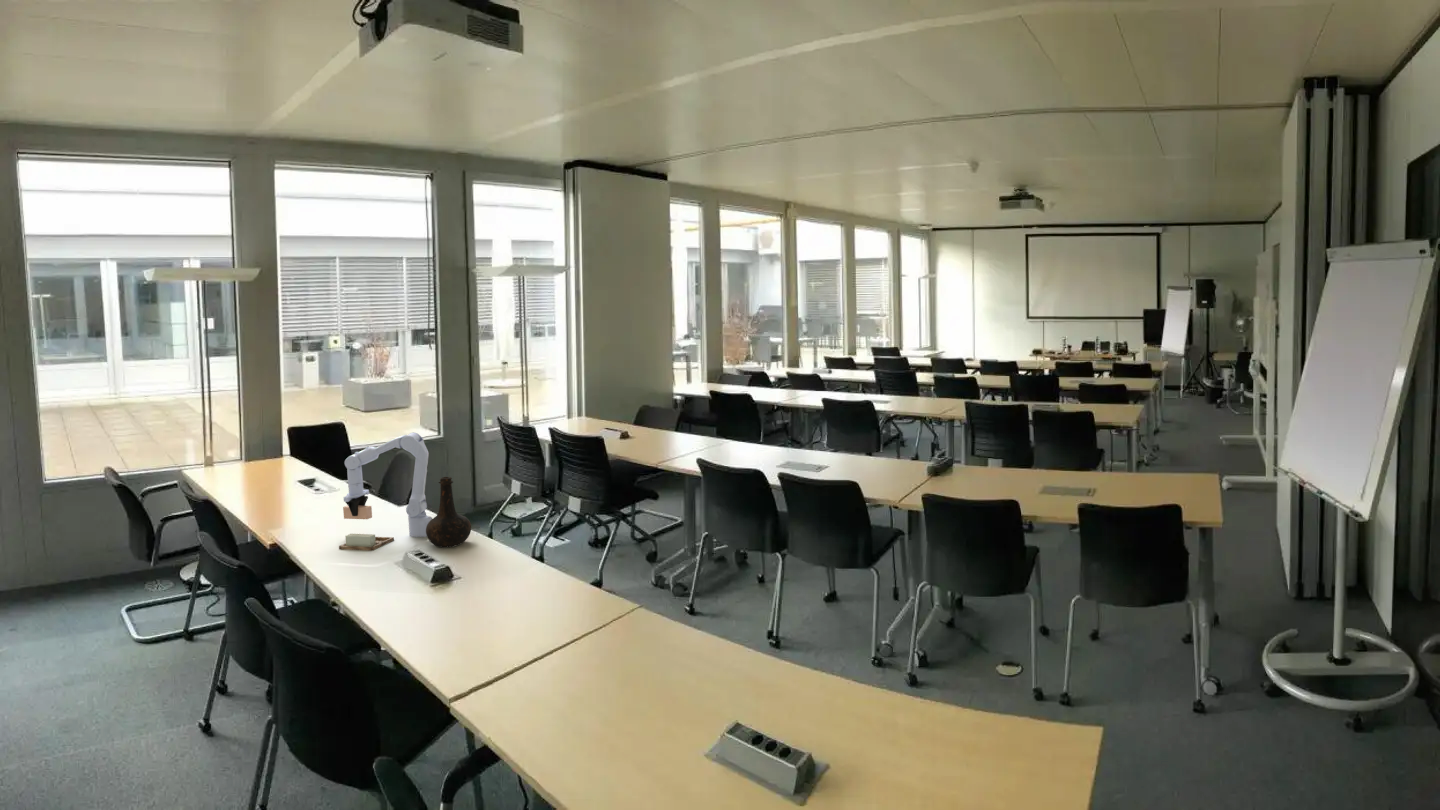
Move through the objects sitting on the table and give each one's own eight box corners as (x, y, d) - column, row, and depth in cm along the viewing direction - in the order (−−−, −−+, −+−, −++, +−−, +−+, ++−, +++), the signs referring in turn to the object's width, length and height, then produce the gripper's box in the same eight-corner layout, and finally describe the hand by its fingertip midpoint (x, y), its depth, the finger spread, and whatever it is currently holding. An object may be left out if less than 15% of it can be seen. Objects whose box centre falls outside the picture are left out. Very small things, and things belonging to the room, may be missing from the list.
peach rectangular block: (372, 517, 361) (371, 505, 360) (367, 519, 357) (366, 507, 357) (349, 516, 363) (348, 505, 362) (343, 518, 360) (343, 507, 359)
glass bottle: (442, 553, 337) (437, 484, 333) (418, 545, 348) (413, 478, 345) (480, 543, 350) (477, 476, 347) (456, 536, 362) (452, 471, 358)
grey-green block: (375, 546, 346) (375, 534, 345) (370, 548, 342) (369, 536, 342) (351, 545, 348) (350, 533, 347) (346, 547, 344) (345, 535, 344)
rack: (394, 542, 355) (393, 537, 354) (372, 552, 340) (372, 547, 340) (361, 540, 358) (361, 536, 357) (339, 550, 343) (338, 546, 343)
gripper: (357, 479, 366) (359, 510, 368) (336, 486, 352) (338, 518, 354) (372, 479, 365) (374, 510, 366) (351, 486, 351) (353, 519, 352)
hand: (357, 514), depth 360 cm, fingers closed on peach rectangular block, 3 cm apart
